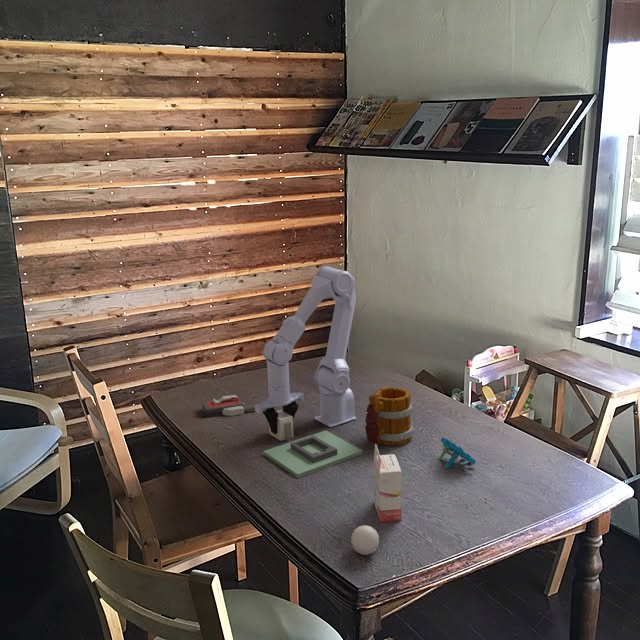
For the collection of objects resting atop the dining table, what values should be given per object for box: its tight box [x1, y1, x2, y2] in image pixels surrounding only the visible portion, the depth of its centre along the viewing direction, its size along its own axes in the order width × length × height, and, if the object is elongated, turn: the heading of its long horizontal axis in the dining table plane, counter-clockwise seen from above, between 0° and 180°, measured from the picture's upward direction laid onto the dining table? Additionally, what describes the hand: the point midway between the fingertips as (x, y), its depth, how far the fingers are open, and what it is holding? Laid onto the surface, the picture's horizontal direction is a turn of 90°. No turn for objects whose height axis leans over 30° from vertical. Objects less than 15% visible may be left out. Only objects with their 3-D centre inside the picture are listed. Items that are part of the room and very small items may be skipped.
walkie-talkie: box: [201, 394, 255, 418], centre depth 216 cm, size 9×4×20 cm
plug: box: [268, 409, 294, 442], centre depth 197 cm, size 4×9×6 cm, turn 36°
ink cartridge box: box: [373, 444, 402, 523], centre depth 156 cm, size 9×5×15 cm, turn 5°
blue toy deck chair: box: [438, 437, 477, 469], centre depth 177 cm, size 11×6×10 cm
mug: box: [364, 386, 415, 447], centre depth 190 cm, size 11×16×15 cm, turn 137°
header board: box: [262, 430, 363, 479], centre depth 186 cm, size 20×16×2 cm
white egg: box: [350, 524, 381, 556], centre depth 144 cm, size 8×6×6 cm
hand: (281, 430), depth 197 cm, fingers closed on plug, 4 cm apart
